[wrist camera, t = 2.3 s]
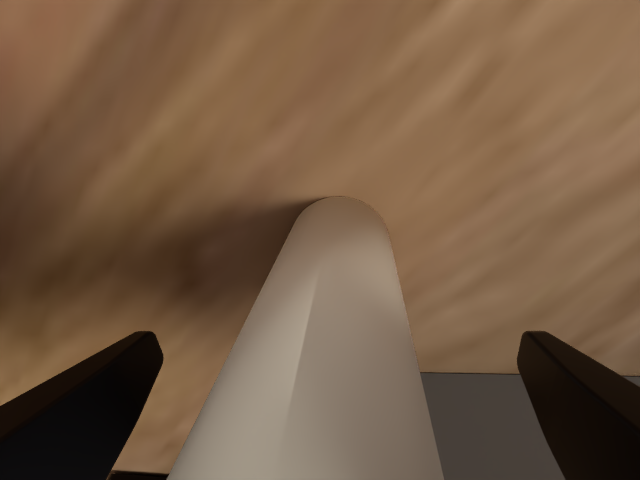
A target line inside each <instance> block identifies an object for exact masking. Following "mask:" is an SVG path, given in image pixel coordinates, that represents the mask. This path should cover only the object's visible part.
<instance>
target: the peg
mask: <svg viewBox="0 0 640 480" xmlns="http://www.w3.org/2000/svg"><path fill="white" fill-rule="evenodd" d="M167 480H444V477H443V472H442V468H441V464H440V459H439V455H438V450H437V446H436V441H435V437H434V433H433V428H432V424H431V419H430V415H429V411H428V406H427V402H426V397H425V393H424V388H423V384H422V380H421V375H420V371H419V366H418V362H417V357H416V353H415V349H414V344H413V340H412V335H411V331H410V327H409V322H408V318H407V313H406V309H405V304H404V300H403V296H402V291H401V287H400V282H399V278H398V273H397V269H396V265H395V260H394V256H393V251H392V247H391V243H390V238H389V234H388V230H387V227H386V225H385V223H384V221H383V219H382V218H381V217H380V215H379V214H378V213H377V212H376V211H375V210H374V209H373V208H372V207H370V206H369V205H367V204H365V203H364V202H362V201H359V200H357V199H353V198H350V197H328V198H324V199H321V200H319V201H316V202H314V203H313V204H311V205H309V206H308V207H307V208H305V209H304V210H303V211H302V212H301V213H300V215H299V216H298V217H297V219H296V221H295V223H294V225H293V227H292V229H291V231H290V233H289V235H288V237H287V239H286V241H285V243H284V245H283V247H282V249H281V251H280V253H279V255H278V257H277V259H276V261H275V263H274V265H273V267H272V269H271V271H270V273H269V275H268V277H267V279H266V281H265V283H264V285H263V287H262V289H261V291H260V293H259V295H258V297H257V299H256V301H255V303H254V305H253V307H252V309H251V311H250V313H249V315H248V317H247V319H246V321H245V323H244V325H243V327H242V329H241V331H240V333H239V335H238V337H237V339H236V341H235V343H234V345H233V347H232V349H231V351H230V353H229V355H228V357H227V359H226V361H225V363H224V365H223V367H222V369H221V371H220V373H219V375H218V377H217V379H216V381H215V383H214V385H213V387H212V389H211V391H210V393H209V395H208V397H207V399H206V401H205V403H204V405H203V407H202V409H201V411H200V413H199V415H198V417H197V419H196V421H195V423H194V425H193V427H192V429H191V431H190V433H189V435H188V437H187V439H186V441H185V443H184V445H183V447H182V450H181V452H180V454H179V456H178V458H177V460H176V462H175V464H174V466H173V468H172V470H171V472H170V474H169V476H168V478H167Z"/></svg>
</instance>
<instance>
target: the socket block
mask: <svg viewBox="0 0 640 480" xmlns="http://www.w3.org/2000/svg"><path fill="white" fill-rule="evenodd" d="M420 375H421V380H422V384H423V388H424V393H425V397H426V402H427V406H428V411H429V415H430V419H431V424H432V428H433V433H434V437H435V441H436V446H437V450H438V455H439V459H440V464H441V468H442V472H443V477H444V480H565V478H564V476H563V474H562V472H561V470H560V468H559V466H558V464H557V462H556V460H555V458H554V456H553V454H552V452H551V450H550V448H549V446H548V444H547V441H546V439H545V437H544V434H543V432H542V430H541V427H540V424H539V422H538V419H537V417H536V414H535V411H534V409H533V406H532V404H531V401H530V398H529V396H528V393H527V391H526V388H525V385H524V383H523V380H522V378H521V375H509V374H451V373H420ZM623 377H624V378H626V379H628V380H629V381H631V382H633V383H634V384H636V385H638V386H640V377H627V376H623Z"/></svg>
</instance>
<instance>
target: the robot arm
mask: <svg viewBox="0 0 640 480" xmlns="http://www.w3.org/2000/svg"><path fill="white" fill-rule="evenodd" d="M162 364H163V353H162V350H161V348H160V345H159V342H158V340H157V337H156V335H155V334H154V333H153V332H151V331H138V332H135V333H133V334H131V335H129V336H127V337H125V338H124V339H122V340H120V341H118V342H116V343H114V344H113V345H111V346H109V347H107V348H105V349H104V350H102V351H100V352H98V353H96V354H94V355H93V356H91V357H89V358H87V359H85V360H83V361H82V362H80V363H78V364H76V365H74V366H73V367H71V368H69V369H67V370H65V371H63V372H62V373H60V374H58V375H56V376H54V377H52V378H51V379H49V380H47V381H45V382H43V383H42V384H40V385H38V386H36V387H34V388H32V389H31V390H29V391H27V392H25V393H23V394H21V395H20V396H18V397H16V398H14V399H12V400H11V401H9V402H7V403H5V404H3V405H1V406H0V480H106V479H107V477H108V475H109V473H110V471H111V469H112V468H113V466H114V464H115V462H116V460H117V458H118V457H119V455H120V453H121V451H122V449H123V447H124V445H125V444H126V442H127V440H128V438H129V436H130V434H131V433H132V431H133V429H134V427H135V425H136V423H137V421H138V419H139V417H140V414H141V412H142V410H143V408H144V405H145V403H146V401H147V398H148V396H149V394H150V392H151V389H152V387H153V385H154V382H155V380H156V378H157V376H158V373H159V371H160V369H161V366H162ZM517 366H518V370H519V372H520V375H521V378H522V380H523V383H524V385H525V388H526V391H527V393H528V396H529V398H530V401H531V404H532V406H533V409H534V411H535V414H536V417H537V419H538V422H539V424H540V427H541V430H542V432H543V434H544V437H545V439H546V441H547V444H548V446H549V448H550V450H551V452H552V454H553V456H554V458H555V460H556V462H557V464H558V466H559V468H560V470H561V472H562V474H563V476H564V478H565V480H640V386H638V385H636V384H634V383H633V382H631V381H629V380H628V379H626V378H624V377H623V376H621V375H619V374H617V373H616V372H614V371H612V370H611V369H609V368H607V367H606V366H604V365H602V364H600V363H599V362H597V361H595V360H594V359H592V358H590V357H589V356H587V355H585V354H583V353H582V352H580V351H578V350H577V349H575V348H573V347H572V346H570V345H568V344H566V343H565V342H563V341H561V340H560V339H558V338H556V337H555V336H553V335H551V334H549V333H548V332H545V331H526V332H524V333H523V335H522V338H521V342H520V347H519V352H518V356H517ZM167 478H168V477H153V476H139V475H124V474H111V475H110V477H109V478H108V480H167Z"/></svg>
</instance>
